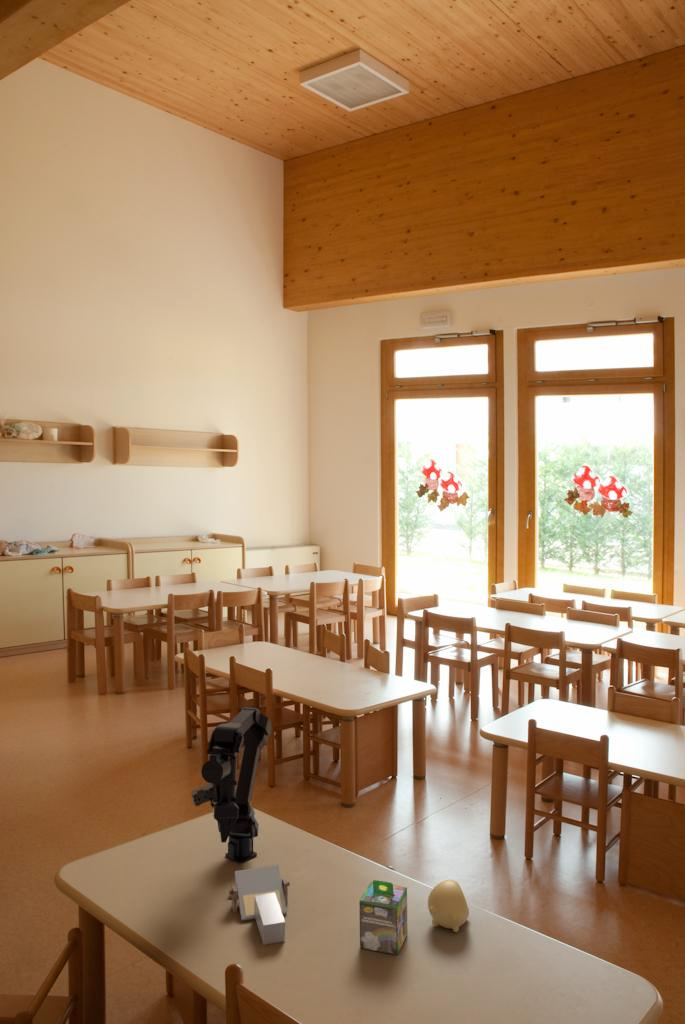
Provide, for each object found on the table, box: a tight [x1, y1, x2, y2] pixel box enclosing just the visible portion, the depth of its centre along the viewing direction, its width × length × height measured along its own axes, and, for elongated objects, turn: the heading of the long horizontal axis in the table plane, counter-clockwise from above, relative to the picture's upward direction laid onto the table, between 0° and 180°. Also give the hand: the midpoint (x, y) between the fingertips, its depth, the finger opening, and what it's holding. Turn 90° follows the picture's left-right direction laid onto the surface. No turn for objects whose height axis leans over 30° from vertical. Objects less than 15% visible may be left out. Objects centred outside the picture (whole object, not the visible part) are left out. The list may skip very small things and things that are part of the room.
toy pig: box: [427, 879, 470, 933], centre depth 199 cm, size 10×12×11 cm
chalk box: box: [358, 879, 408, 956], centre depth 192 cm, size 9×9×15 cm
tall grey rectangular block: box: [254, 893, 286, 946], centre depth 196 cm, size 5×5×11 cm
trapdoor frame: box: [228, 877, 291, 914], centre depth 210 cm, size 8×15×6 cm, turn 107°
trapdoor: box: [234, 864, 288, 922], centre depth 207 cm, size 12×11×4 cm
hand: (222, 837), depth 217 cm, fingers open, 9 cm apart
